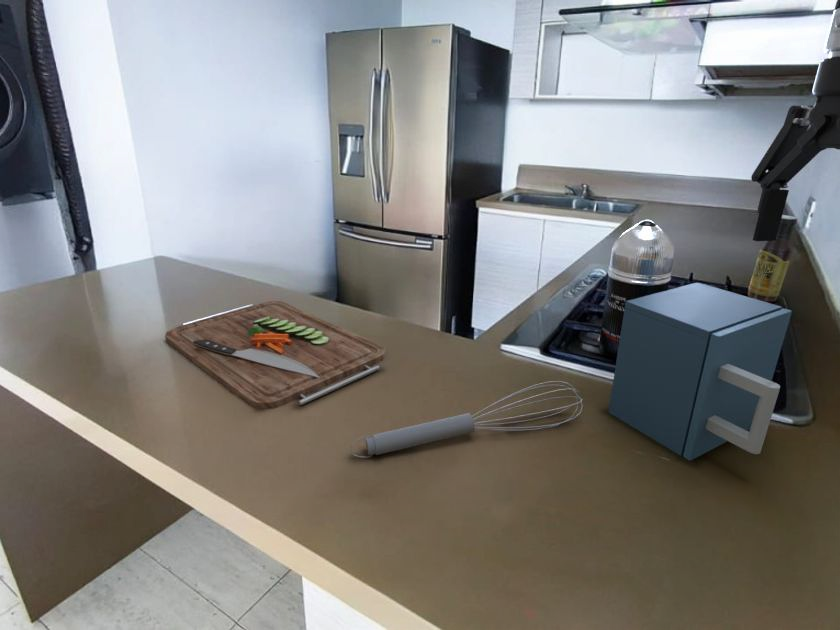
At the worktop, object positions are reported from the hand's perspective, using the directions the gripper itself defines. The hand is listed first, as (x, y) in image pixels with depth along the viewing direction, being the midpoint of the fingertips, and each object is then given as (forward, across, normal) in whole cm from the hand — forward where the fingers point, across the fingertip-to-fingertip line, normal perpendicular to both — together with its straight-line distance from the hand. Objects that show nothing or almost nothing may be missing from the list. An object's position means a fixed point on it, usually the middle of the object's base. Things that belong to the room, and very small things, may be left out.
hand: (807, 254), depth 60 cm
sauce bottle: (+26, -50, +43) cm, 71 cm away
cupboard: (+26, -6, -7) cm, 28 cm away
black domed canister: (+26, -27, -4) cm, 38 cm away
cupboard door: (+26, +3, -4) cm, 27 cm away
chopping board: (+27, -40, -70) cm, 85 cm away
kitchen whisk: (+26, -6, -38) cm, 47 cm away
